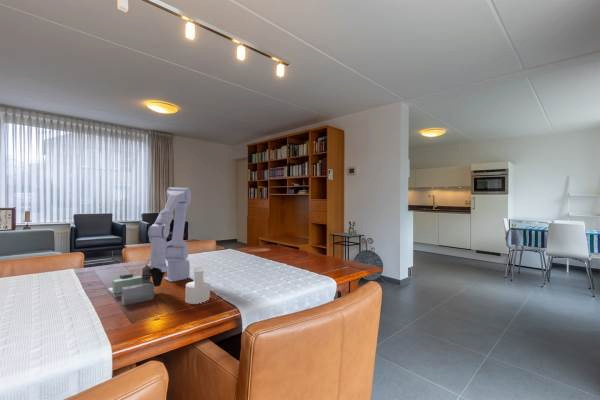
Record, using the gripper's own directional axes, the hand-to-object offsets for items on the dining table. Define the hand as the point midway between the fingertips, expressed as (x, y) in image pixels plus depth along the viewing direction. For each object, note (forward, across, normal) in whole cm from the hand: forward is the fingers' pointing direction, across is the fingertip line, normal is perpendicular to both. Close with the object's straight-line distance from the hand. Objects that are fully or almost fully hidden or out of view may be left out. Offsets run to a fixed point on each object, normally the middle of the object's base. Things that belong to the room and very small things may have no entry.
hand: (157, 285), depth 113 cm
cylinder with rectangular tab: (+3, +19, +8) cm, 21 cm away
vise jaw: (+1, -7, -9) cm, 12 cm away
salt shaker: (+3, 0, -4) cm, 5 cm away
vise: (+2, -3, -9) cm, 10 cm away
